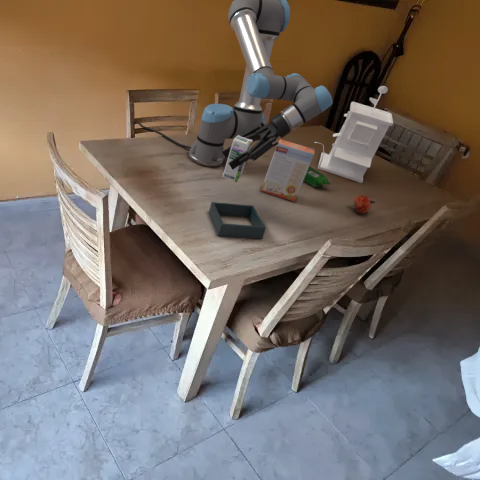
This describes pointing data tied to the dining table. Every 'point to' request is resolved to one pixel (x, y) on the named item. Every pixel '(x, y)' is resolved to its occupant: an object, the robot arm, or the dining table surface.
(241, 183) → the dining table surface
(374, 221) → the dining table surface
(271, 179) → the cracker box
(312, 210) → the dining table surface
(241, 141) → the syrup box
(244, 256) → the dining table surface
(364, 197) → the pomegranate
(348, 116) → the white toy machine
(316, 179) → the snack package
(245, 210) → the bin
